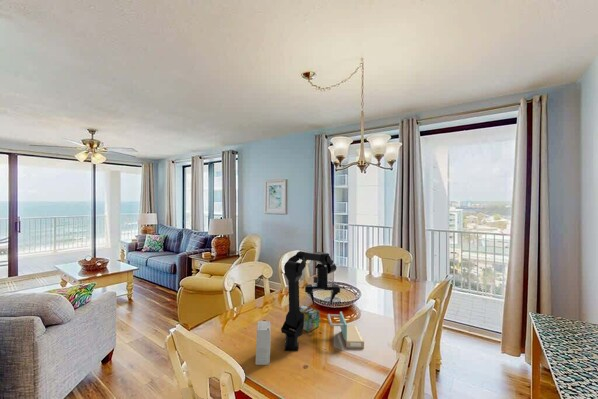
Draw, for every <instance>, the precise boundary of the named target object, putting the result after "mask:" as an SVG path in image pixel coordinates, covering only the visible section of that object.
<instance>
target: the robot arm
mask: <svg viewBox="0 0 598 399" xmlns="http://www.w3.org/2000/svg"><path fill="white" fill-rule="evenodd" d="M300 260H301V261H300ZM298 261H300V262H298ZM307 261H314V262H315V263H317V264H316V265H315V267H314V268H315V269H316V272H317V273H316V276H313V284H316V285H315V286H314V285H313V284H311V283H310V284H309V283H308V284H307V283H306V284H305V285H304V292H305V293H307V294H308V295H309V297H310V298H311V302H312V305H315V298H314V291H330V298H329V305H330V306H331V305H332V303H333V300H334V298H335V297H336V295H338V294H340V293H341V287H340V286H339V285H338V284H331V285H330V286H328V281H329V280H328V279H329V276H328V275H329V274H332V273H334V272H336V271H337V265H336V263H335V262H334V260H333V259H332V257H331V256H330V253H328V252H321V251H316V252H308V251H302V250H299V251H298V252H296V254H294V255H293V256H291V257H290V258H289V259H288V260H287V261H286V262H285V264H284V266H283V267H284V268H283V270H284V275H285V278H286V279H287V281H288V282H287V283H288V285H287V286H288V312H287V313H286V314H285V319H284V320H285V321H284V322H283V325H282V326H281V328H280V331H281V334H284V335H285V342H284V348H283V349H284V351H287V352H288V351H291V352H292V351H295V352H296V351H299V342H298V340H299V339H298V338H299V337H300V336H302V334H303V331H304V330H303V326H304V313H302V312H300V309H299V307H300V279H301V277H302V276H303V270H304V269H305V268H306V266H307V265H306V264H307Z"/></svg>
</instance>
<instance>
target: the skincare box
mask: <svg viewBox="0 0 598 399" xmlns="http://www.w3.org/2000/svg"><path fill="white" fill-rule="evenodd" d="M271 323H272V322H271V321H270V320H268V321H267V320H266V321H264V320H263V321H262V320H258V321H257V326H256V327H257V328H256V344H255V345H256V346H255V363H254V364H255V365H257V366H261V365H262V366H267V365H268V366H269V365H270V360H271V359H270V358H271V340H272V339H271V336H272V335H271V334H272V333H271V326H272V325H271Z"/></svg>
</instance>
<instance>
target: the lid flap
mask: <svg viewBox="0 0 598 399" xmlns="http://www.w3.org/2000/svg"><path fill="white" fill-rule="evenodd" d="M326 317H327V321H328V324H329V327H340V331H341V330H342V332H341V333H343V335H342V337H343V336H344V338H343V340H344V339H345V340H347V326H348V323H347V322H346V318H345V316H344V313H343V311H339V314H331V313H327V314H326ZM332 317H333V318H335V317H336V318H339V323H333V322H332V319H331V318H332Z"/></svg>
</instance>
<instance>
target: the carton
mask: <svg viewBox="0 0 598 399" xmlns="http://www.w3.org/2000/svg"><path fill="white" fill-rule="evenodd" d="M340 332H341V333H342V330H341V329H340ZM342 337H343V340H344V343H345V346H346V348H347V349H348V348H349V349H364V348H365V341H364V338H363V336H362V334H361V332H360V330H359V329H358V326H357V325H347V340H345V339H344V336H343V333H342Z"/></svg>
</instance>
